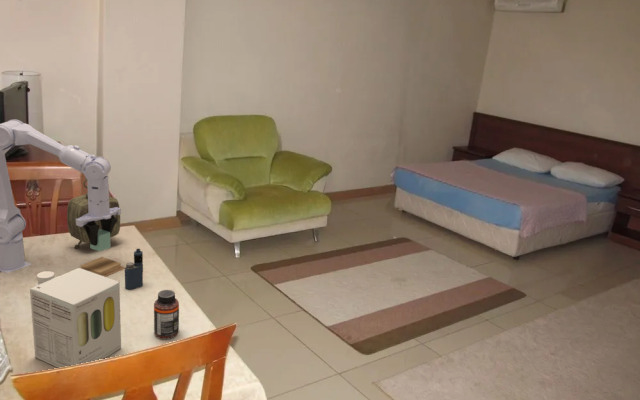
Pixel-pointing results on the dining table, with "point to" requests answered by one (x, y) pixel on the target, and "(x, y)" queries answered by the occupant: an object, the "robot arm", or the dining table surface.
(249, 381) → the dining table surface
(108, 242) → the block
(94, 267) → the top slab
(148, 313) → the dining table surface
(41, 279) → the pill bottle
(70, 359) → the supplement box
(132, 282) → the vaping device
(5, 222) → the robot arm
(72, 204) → the tabletop clock
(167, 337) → the supplement bottle
